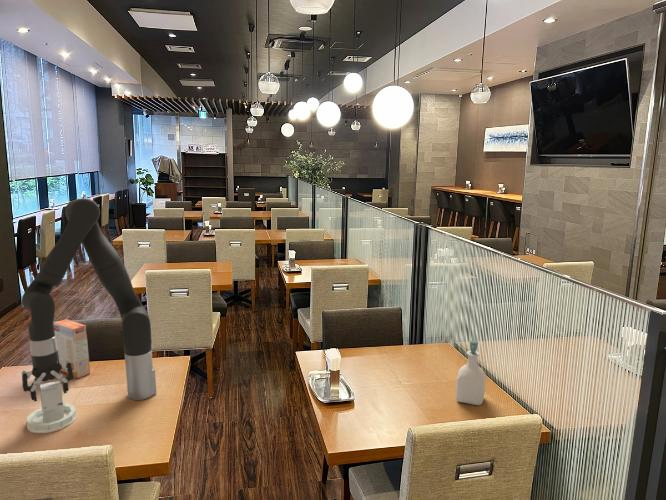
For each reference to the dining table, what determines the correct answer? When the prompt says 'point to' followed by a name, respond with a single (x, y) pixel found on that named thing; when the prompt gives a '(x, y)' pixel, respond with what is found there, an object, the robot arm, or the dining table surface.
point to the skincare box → (51, 401)
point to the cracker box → (72, 346)
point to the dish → (38, 426)
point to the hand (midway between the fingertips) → (50, 396)
